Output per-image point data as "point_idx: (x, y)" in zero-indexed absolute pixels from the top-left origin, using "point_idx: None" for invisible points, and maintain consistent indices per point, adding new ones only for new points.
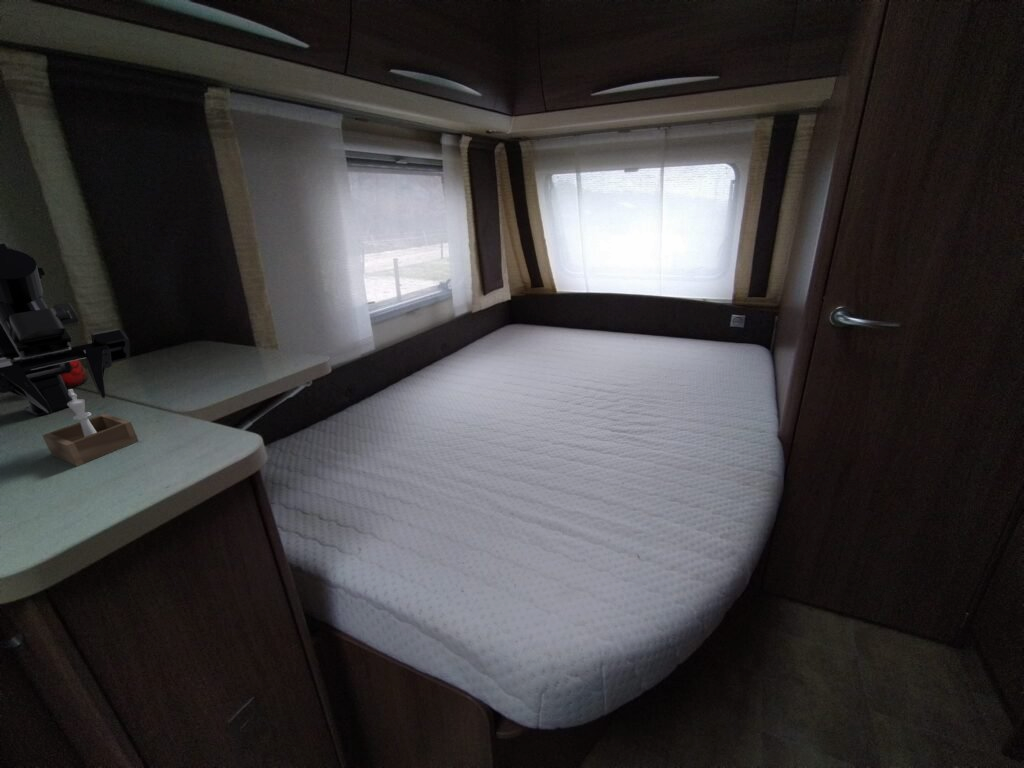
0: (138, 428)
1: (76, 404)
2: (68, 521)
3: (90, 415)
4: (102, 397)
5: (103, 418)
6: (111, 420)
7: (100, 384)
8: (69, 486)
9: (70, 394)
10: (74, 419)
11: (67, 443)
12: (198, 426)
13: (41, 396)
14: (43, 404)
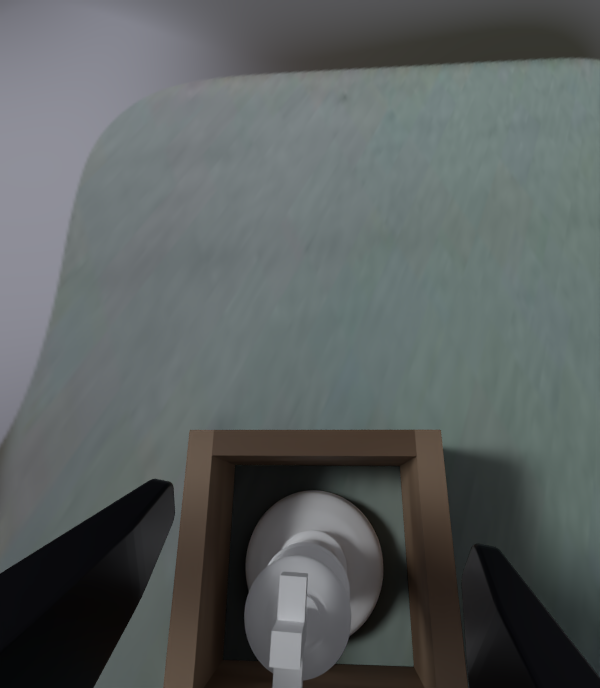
0: None
1: (314, 561)
2: (528, 142)
3: (276, 556)
4: (174, 505)
5: (196, 684)
6: (204, 574)
7: (98, 532)
8: (479, 315)
9: (303, 636)
10: (348, 584)
11: (433, 453)
12: (68, 351)
13: (530, 657)
14: (518, 585)
